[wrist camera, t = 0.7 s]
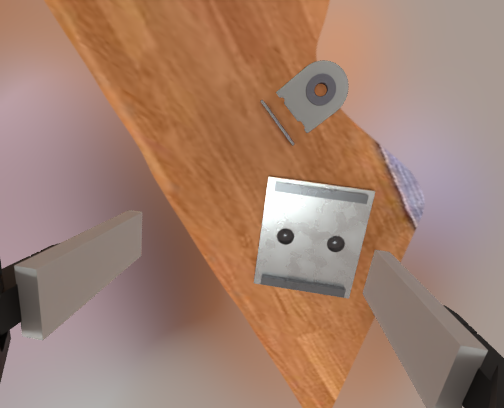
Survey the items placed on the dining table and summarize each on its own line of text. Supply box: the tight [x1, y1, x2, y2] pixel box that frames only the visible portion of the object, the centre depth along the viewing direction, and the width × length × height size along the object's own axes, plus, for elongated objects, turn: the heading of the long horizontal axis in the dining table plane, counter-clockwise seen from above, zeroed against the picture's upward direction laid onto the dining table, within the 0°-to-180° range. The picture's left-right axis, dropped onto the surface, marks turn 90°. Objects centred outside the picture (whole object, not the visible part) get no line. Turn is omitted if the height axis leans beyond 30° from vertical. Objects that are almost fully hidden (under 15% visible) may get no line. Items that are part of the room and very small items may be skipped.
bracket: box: [261, 60, 348, 146], centre depth 31 cm, size 7×10×4 cm, turn 128°
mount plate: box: [254, 176, 375, 298], centre depth 36 cm, size 16×14×2 cm
